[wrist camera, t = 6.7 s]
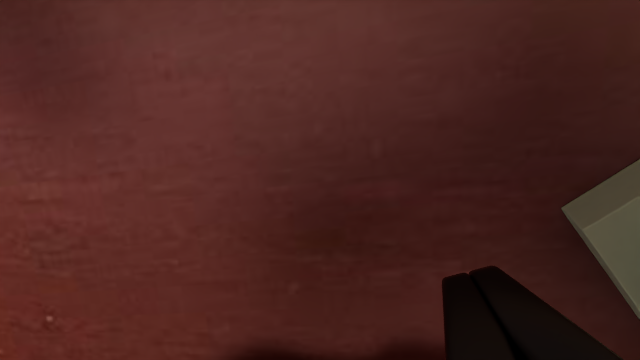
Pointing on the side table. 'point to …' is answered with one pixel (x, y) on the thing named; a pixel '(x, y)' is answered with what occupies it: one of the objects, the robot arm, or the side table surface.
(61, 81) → the side table surface
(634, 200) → the push button box
